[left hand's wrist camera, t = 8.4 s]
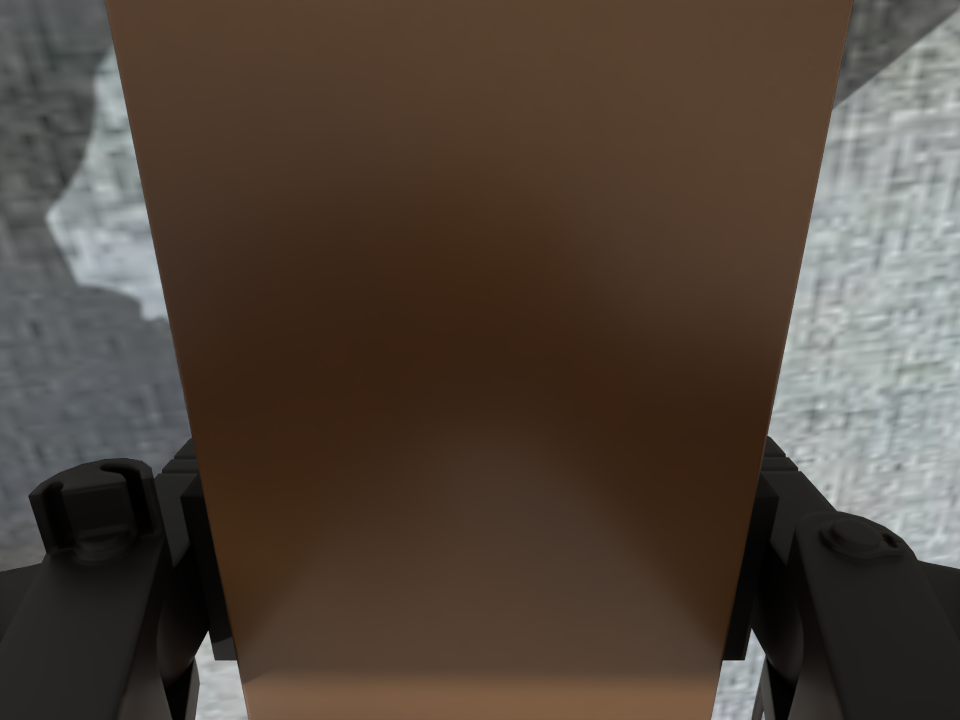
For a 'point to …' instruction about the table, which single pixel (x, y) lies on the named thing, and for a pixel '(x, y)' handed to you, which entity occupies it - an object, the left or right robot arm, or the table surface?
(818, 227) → the table surface
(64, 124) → the table surface
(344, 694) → the bar
